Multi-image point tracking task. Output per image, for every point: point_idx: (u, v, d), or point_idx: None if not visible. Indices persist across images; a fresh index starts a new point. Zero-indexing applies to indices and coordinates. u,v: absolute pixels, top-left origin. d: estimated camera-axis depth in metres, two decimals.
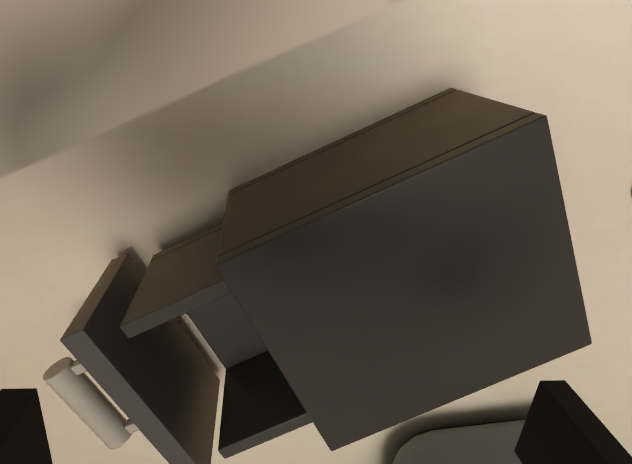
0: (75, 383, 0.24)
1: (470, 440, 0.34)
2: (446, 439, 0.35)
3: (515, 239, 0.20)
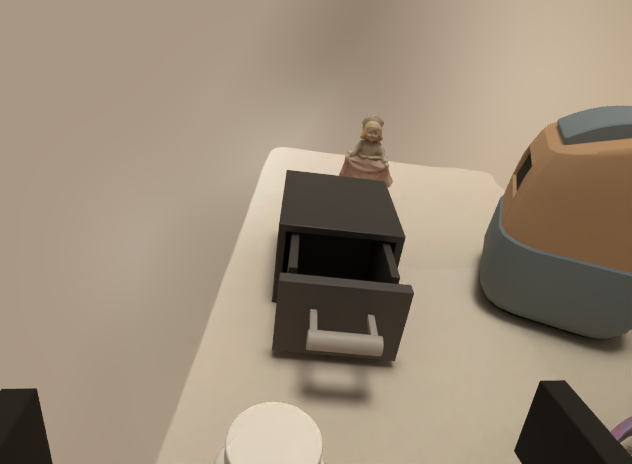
0: None
1: None
2: None
3: (324, 181, 0.55)
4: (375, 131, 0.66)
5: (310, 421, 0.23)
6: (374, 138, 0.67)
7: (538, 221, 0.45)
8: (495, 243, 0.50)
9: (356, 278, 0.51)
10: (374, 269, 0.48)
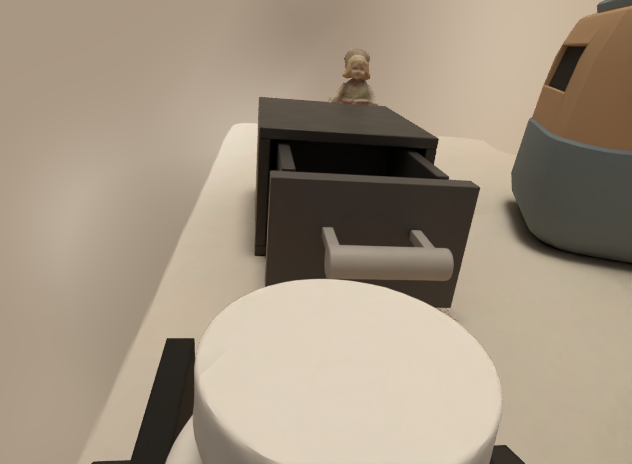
0: None
1: (520, 198, 0.43)
2: (522, 208, 0.41)
3: (311, 104, 0.41)
4: (361, 65, 0.54)
5: (425, 308, 0.08)
6: (360, 75, 0.55)
7: (610, 107, 0.33)
8: (545, 158, 0.37)
9: None
10: None
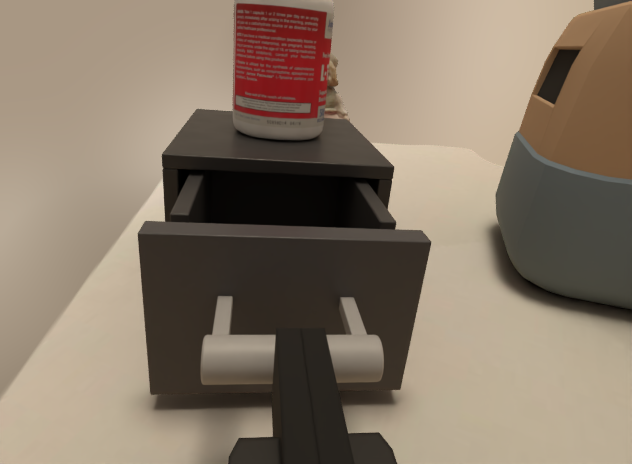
0: None
1: (503, 228, 0.36)
2: (506, 241, 0.35)
3: None
4: None
5: None
6: None
7: (610, 126, 0.27)
8: (531, 184, 0.31)
9: None
10: None
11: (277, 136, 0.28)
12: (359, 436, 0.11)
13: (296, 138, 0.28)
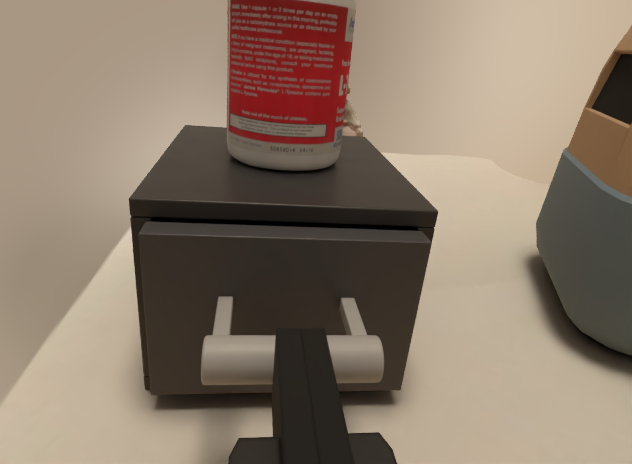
0: None
1: (553, 268, 0.30)
2: (558, 286, 0.29)
3: None
4: None
5: None
6: None
7: None
8: (598, 222, 0.25)
9: None
10: None
11: (283, 166, 0.22)
12: (359, 436, 0.11)
13: (307, 168, 0.22)
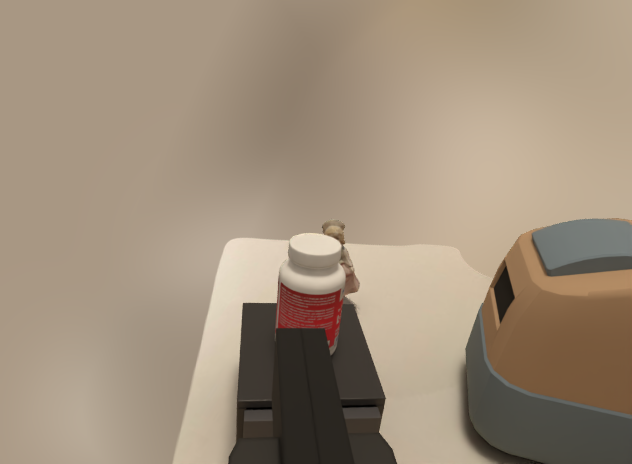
0: None
1: None
2: None
3: None
4: (337, 236, 0.61)
5: (332, 238, 0.41)
6: None
7: (529, 362, 0.40)
8: (482, 379, 0.44)
9: None
10: None
11: None
12: (359, 437, 0.11)
13: None
